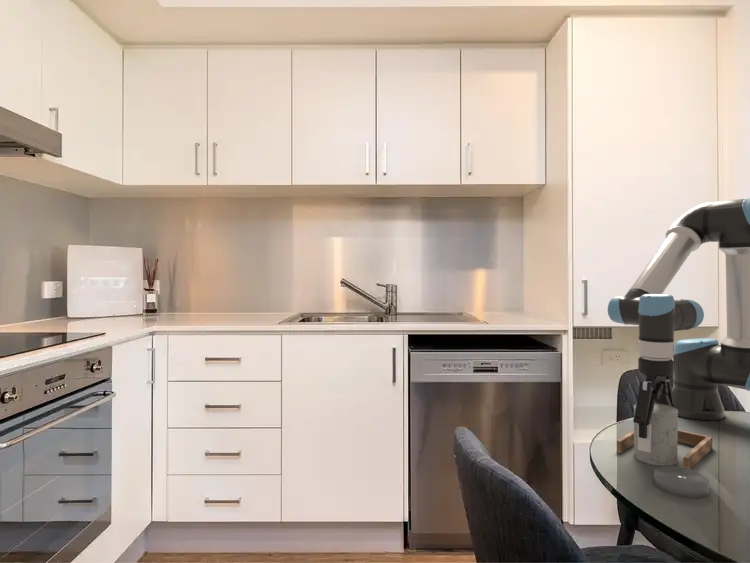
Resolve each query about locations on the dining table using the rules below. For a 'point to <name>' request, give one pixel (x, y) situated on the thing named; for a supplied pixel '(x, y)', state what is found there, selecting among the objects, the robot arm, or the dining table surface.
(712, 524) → the dining table surface
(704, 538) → the dining table surface
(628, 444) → the frame
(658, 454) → the grey marbled pot
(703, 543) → the dining table surface
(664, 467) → the pedestal
